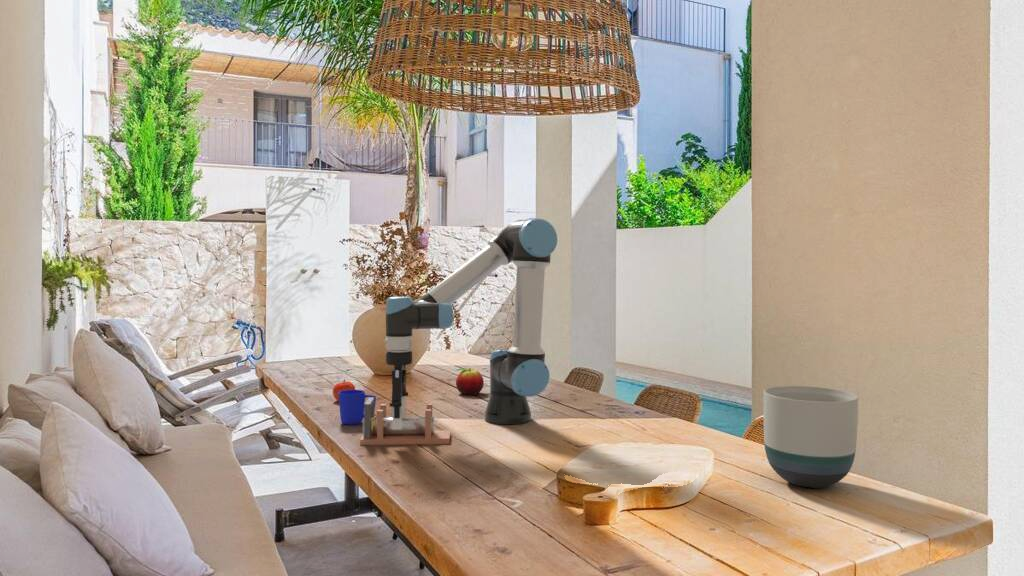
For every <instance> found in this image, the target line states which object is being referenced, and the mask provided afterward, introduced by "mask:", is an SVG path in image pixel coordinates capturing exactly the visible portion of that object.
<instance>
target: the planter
mask: <svg viewBox="0 0 1024 576" xmlns="http://www.w3.org/2000/svg"><path fill="white" fill-rule="evenodd" d="M858 414H859V396H858V395H856V394H855V393H852V392H850V391H845V390H841V389H835V388H828V387H822V386H821V387H820V386H810V385H809V386H806V385H781V386H780V385H779V386H772V387H768V388H765V389H764V390H763V441H764V442H763V443H764V450H765V455H766V459H767V461H768V463H769V466H770V467H771V468H772V469H773V471H774V472H775V473H776V474H777V475H778V476H779V477H781V478H782V479H783V480H784V481H786V482H788V483H789V484H792V485H795V486H797V485H798V487H801V486H803V487H802V488H807V487H810V489H821V488H823V489H824V488H827V487H831V486H833V485H836V484H837V483H839V482H840V481H842V480H843V479H844V478H845V477H846V476H847V475H848V474H849V473H850V471H851V469H852V466H853V464H854V461H855V457H856V450H857V438H858V422H859V420H858V419H859V418H858V417H859V415H858Z"/></svg>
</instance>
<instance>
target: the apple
mask: <svg viewBox="0 0 1024 576" xmlns="http://www.w3.org/2000/svg"><path fill="white" fill-rule="evenodd" d="M344 390H356V387H355V385H354V384H353V382H351V381H345V379H343V382H339V383H336V384H335V385H334V386H333V388H332V395H333V398H334V399H335V400H336V401H338V402H339V394H338V393H339V392H340V391H344Z"/></svg>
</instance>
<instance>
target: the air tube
mask: <svg viewBox="0 0 1024 576" xmlns="http://www.w3.org/2000/svg"><path fill="white" fill-rule="evenodd" d="M434 417H435V416H432V417H431V435H433V434H434V429H435V420H434V419H435V418H434ZM362 435H364V418H363V420H362ZM371 435H377V416H376V417H375V416H374V417H371ZM383 435H425V416H421V417H420V416H413V417H412V416H411V417H410V416H406V417H402V429H394V430H392V416H390V417H387V416H386V417H383Z"/></svg>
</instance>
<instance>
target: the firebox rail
mask: <svg viewBox="0 0 1024 576" xmlns="http://www.w3.org/2000/svg"><path fill="white" fill-rule="evenodd" d="M366 399H367V400H365V404H364V435H363V434H362V436H361V438H360V439H359V444H360V446H370V445H371V446H373V445H374V446H375V445H376V446H377V445H381V446H382V445H389V446H390V445H442V444H443V445H444V444H445V445H448V444H450V442H451V441H450V440H451V430H450V429H446V430H443V429H440V430H434V434H433V435H431V417H433V403H426V409H425V410H424V412H425V413H424V417H425V435H383V417H387V403H381V404H380V406H379V409H377V410H376V418H377V435H371V417H375V411H374V397H367V398H366Z"/></svg>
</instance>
